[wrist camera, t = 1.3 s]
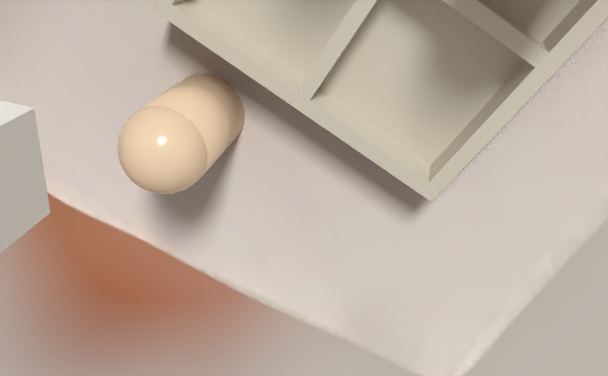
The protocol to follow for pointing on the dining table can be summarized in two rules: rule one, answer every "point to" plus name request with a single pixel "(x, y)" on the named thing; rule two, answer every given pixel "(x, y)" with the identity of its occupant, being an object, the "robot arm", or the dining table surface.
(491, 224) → the dining table surface
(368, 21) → the egg tray
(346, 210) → the dining table surface
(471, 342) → the dining table surface
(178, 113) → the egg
